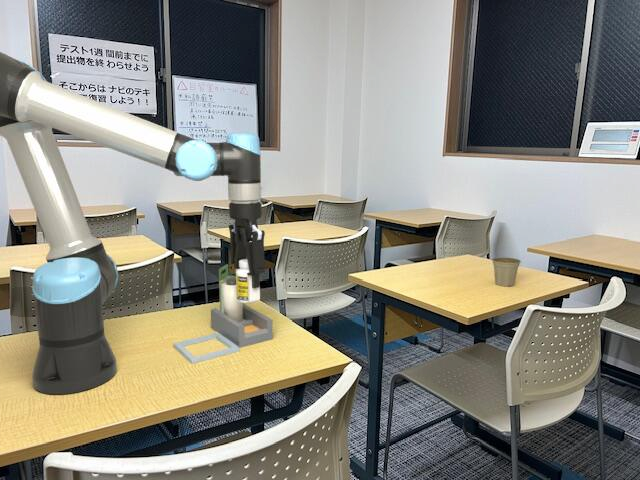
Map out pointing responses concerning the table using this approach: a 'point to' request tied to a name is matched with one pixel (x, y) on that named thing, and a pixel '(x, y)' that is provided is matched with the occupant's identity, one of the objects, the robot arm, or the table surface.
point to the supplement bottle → (243, 282)
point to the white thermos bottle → (232, 300)
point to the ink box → (222, 280)
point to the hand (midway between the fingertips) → (248, 297)
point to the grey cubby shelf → (243, 327)
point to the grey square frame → (194, 359)
